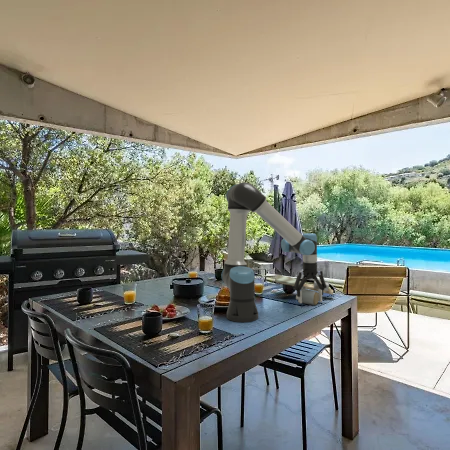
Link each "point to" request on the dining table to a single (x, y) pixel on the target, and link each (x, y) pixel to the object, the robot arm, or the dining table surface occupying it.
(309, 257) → the robot arm
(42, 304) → the dining table surface
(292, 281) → the balance beam
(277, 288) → the dining table surface
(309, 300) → the ceramic mug
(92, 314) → the dining table surface
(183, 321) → the dining table surface
